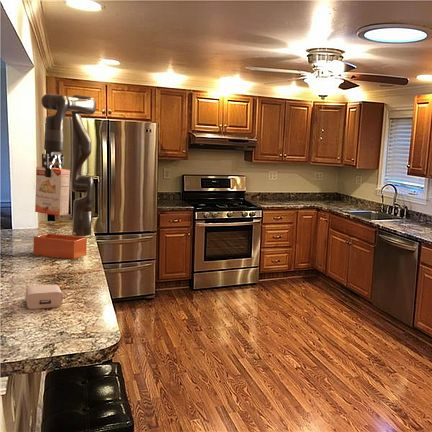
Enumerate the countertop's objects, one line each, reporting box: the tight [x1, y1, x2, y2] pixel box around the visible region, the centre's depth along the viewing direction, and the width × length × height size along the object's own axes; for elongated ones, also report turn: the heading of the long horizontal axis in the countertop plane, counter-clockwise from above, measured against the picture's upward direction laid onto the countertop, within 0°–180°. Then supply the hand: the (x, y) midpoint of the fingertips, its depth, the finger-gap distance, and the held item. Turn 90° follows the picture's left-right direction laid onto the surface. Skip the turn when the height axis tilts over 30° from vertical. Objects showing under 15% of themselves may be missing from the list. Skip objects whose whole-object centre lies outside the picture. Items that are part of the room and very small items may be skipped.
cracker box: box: [34, 166, 71, 217], centre depth 209 cm, size 14×6×21 cm, turn 72°
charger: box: [25, 283, 63, 310], centre depth 145 cm, size 5×9×15 cm
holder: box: [32, 233, 88, 260], centre depth 207 cm, size 11×19×8 cm, turn 85°
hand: (52, 176), depth 209 cm, fingers closed on cracker box, 6 cm apart
